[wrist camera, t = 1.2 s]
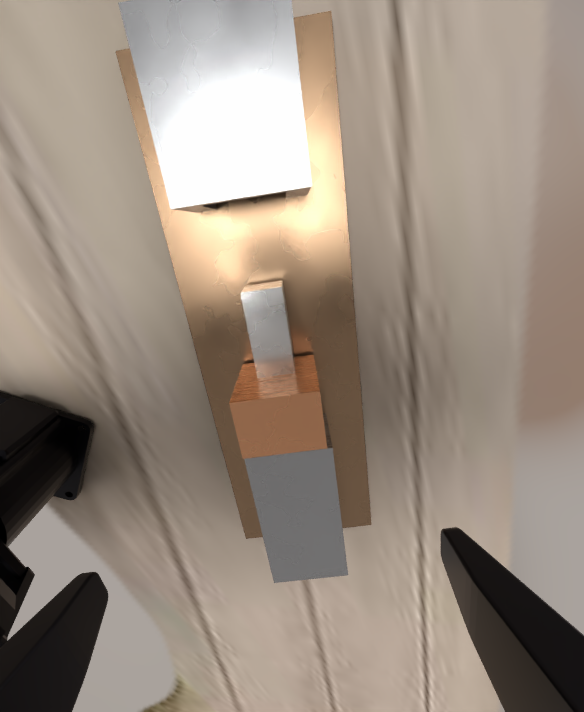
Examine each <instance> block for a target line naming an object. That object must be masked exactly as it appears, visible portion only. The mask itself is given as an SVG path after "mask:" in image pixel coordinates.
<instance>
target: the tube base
mask: <svg viewBox="0 0 584 712" xmlns="http://www.w3.org/2000/svg"><path fill="white" fill-rule="evenodd" d="M118 4H119V8H120V12H121V16H122V20H123V23H124V27H125V31H126V35H127V39H128V43H129V47H130V49H124V50H119V51H116V55H117V59H118V62H119V66H120V70H121V73H122V77H123V81H124V85H125V88H126V92H127V96H128V100H129V103H130V107H131V111H132V115H133V118H134V122H135V126H136V129H137V133H138V137H139V141H140V144H141V148H142V152H143V156H144V159H145V163H146V167H147V171H148V174H149V178H150V182H151V185H152V189H153V193H154V197H155V200H156V204H157V208H158V212H159V215H160V219H161V223H162V227H163V230H164V234H165V238H166V241H167V245H168V249H169V253H170V256H171V260H172V264H173V268H174V271H175V275H176V279H177V283H178V286H179V290H180V294H181V297H182V301H183V305H184V309H185V312H186V316H187V320H188V324H189V327H190V331H191V335H192V339H193V342H194V346H195V350H196V353H197V357H198V361H199V365H200V368H201V372H202V376H203V380H204V383H205V387H206V391H207V395H208V398H209V402H210V406H211V409H212V413H213V417H214V421H215V424H216V428H217V432H218V436H219V439H220V443H221V447H222V451H223V454H224V458H225V462H226V465H227V469H228V473H229V477H230V480H231V484H232V488H233V492H234V495H235V499H236V503H237V507H238V510H239V514H240V518H241V521H242V525H243V529H244V533H245V536H246V539H248V538H257V537H263V539H264V543H265V547H266V551H267V555H268V560H269V564H270V568H271V572H272V576H273V580H274V583H277V582H287V581H296V580H306V579H316V578H325V577H335V576H345V575H348V570H347V562H346V554H345V546H344V537H343V529H342V528H347V527H356V526H365V525H371V514H370V501H369V488H368V475H367V463H366V450H365V437H364V424H363V412H362V399H361V386H360V373H359V361H358V348H357V335H356V322H355V309H354V297H353V284H352V271H351V258H350V246H349V233H348V220H347V207H346V195H345V182H344V169H343V156H342V144H341V131H340V118H339V105H338V92H337V80H336V67H335V54H334V41H333V29H332V16H331V11H328V12H322V13H317V14H312V15H306V16H301V17H296V18H293V10H292V1H291V0H130V1H125V2H120V3H118ZM282 280H283V286H284V292H285V299H286V305H287V312H288V318H289V325H290V331H291V338H292V344H293V351H294V357H300V356H307V355H314V361H315V366H316V372H317V377H318V383H319V389H320V395H321V403H322V411H323V419H324V426H325V434H326V442H327V449H319V450H311V451H303V452H294V453H286V454H278V455H270V456H262V457H254V458H246V459H243V458H242V454H241V450H240V446H239V442H238V438H237V434H236V430H235V425H234V421H233V417H232V413H231V409H230V405H229V402H230V399H231V396H232V394H233V391H234V388H235V385H236V382H237V379H238V376H239V373H240V370H241V368H242V365H243V364H249V363H254V358H253V353H252V348H251V344H250V339H249V334H248V329H247V324H246V319H245V314H244V309H243V304H242V299H241V294H240V293H241V291H242V290H243V289H244V287H245V286H248V285H255V284H261V283H268V282H275V281H282Z"/></svg>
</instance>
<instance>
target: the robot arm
mask: <svg viewBox="0 0 584 712" xmlns="http://www.w3.org/2000/svg"><path fill="white" fill-rule="evenodd" d="M82 426H84V427H85V428H86V429H84V428H83V427H82ZM93 430H94V425H93V423H92V422H91V421H89V420H87V419H84V418H81V417H78V416H75V415H72V414H68V413H65V412H62V411H59V410H56V409H52V408H49V407H46V406H43V405H40V404H36V403H33V402H30V401H27V400H24V399H20V398H17V397H14V396H11V395H8V394H4V393H1V392H0V712H72V710H73V708H74V705H75V702H76V700H77V697H78V694H79V692H80V689H81V686H82V684H83V681H84V678H85V675H86V672H87V669H88V666H89V663H90V660H91V656H92V653H93V650H94V646H95V643H96V640H97V636H98V633H99V629H100V626H101V623H102V619H103V616H104V612H105V609H106V605H107V601H108V591H107V589H106V587H105V585H104V584H103V582H102V580H101V578H100V576H99V574H98V573H96V572H89V573H82V574H80V575H78V576H77V577H76V578H74V579H73V580H72V581H71V582H70V583H69V584H68V585H67V586H66V587H65V588H64V589H63V590H62V591H61V592H59V593H58V594H57V595H56V596H55V597H54V598H53V599H52V600H51V601H50V602H49V603H48V604H47V605H46V606H44V608H42V609H41V610H40V611H39V612H38V613H37V614H36V615H35V616H34V617H33V618H32V619H31V620H30V621H28V622H27V623H26V624H25V625H24V626H23V627H22V628H21V629H20V630H19V631H18V632H17V633H16V634H14V635H13V636H12V637H11V638H10V639H9V640H8V641H7V637H8V634H9V632H10V629H11V628H12V625H13V623H14V621H15V619H16V616H17V614H18V612H19V609H20V607H21V605H22V603H23V600H24V598H25V596H26V593H27V591H28V589H29V587H30V585H31V582H32V580H33V578H34V575H35V574H34V573H33V572H32V571H31V569H30V568H29V567H25V566H24V565H23V564H22V563H21V562H20V560H19V559H18V558H17V557H16V556H15V555H14V554H13V553H12V551H11V550H10V549H9V548H8V546H9V545H10V544H11V543H12V542H13V540H14V539H15V538H16V537H17V536H18V535H19V534H20V533H21V531H22V530H23V529H24V528H25V527H26V526H27V525H28V523H29V522H30V521H31V520H32V519H33V518H34V517H35V516H36V514H37V513H38V512H39V511H40V510H41V509H42V508H43V506H44V505H45V504H46V503H47V502H48V501H49V500H50V499H51V497H52V496H56V497H59V498H63V499H67V500H74V499H76V497H77V496H78V495H79V493H80V491H81V486H82V481H83V477H84V472H85V467H86V462H87V458H88V453H89V448H90V444H91V439H92V434H93ZM441 557H442V561H443V564H444V567H445V569H446V572H447V575H448V578H449V580H450V583H451V586H452V589H453V591H454V594H455V597H456V600H457V602H458V605H459V608H460V611H461V614H462V616H463V619H464V622H465V624H466V627H467V630H468V632H469V635H470V637H471V639H472V641H473V644H474V646H475V648H476V650H477V652H478V655H479V657H480V659H481V661H482V663H483V665H484V667H485V670H486V672H487V674H488V676H489V678H490V680H491V682H492V685H493V687H494V689H495V691H496V693H497V695H498V697H499V700H500V702H501V704H502V706H503V708H504V710H505V712H584V635H583V634H582V633H580V632H579V631H578V630H577V629H576V628H575V627H573V626H572V625H571V624H570V623H569V622H568V621H567V620H565V619H564V618H563V617H562V616H561V615H560V614H558V613H557V612H556V611H555V610H554V609H552V608H551V607H550V606H549V605H548V604H547V603H546V602H544V601H543V600H542V599H541V598H540V597H539V596H537V595H536V594H535V593H534V592H533V591H532V590H530V589H529V588H528V587H527V586H526V585H525V584H524V583H522V582H521V581H520V580H519V579H518V578H516V577H515V576H514V575H513V574H512V573H511V572H510V571H508V570H507V569H506V568H505V567H504V566H503V565H501V564H500V563H499V562H498V561H497V560H496V559H495V558H493V557H492V556H491V555H490V554H489V553H488V552H486V551H485V550H484V549H483V548H482V547H481V546H479V545H478V544H477V543H476V542H475V541H474V540H472V539H471V538H470V537H469V536H468V535H467V534H465V533H464V532H463V531H462V530H461V529H459V528H456V527H454V528H446V529H442V531H441Z"/></svg>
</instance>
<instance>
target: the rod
mask: <svg viewBox="0 0 584 712" xmlns="http://www.w3.org/2000/svg"><path fill="white" fill-rule="evenodd" d="M240 294H241V299H242V304H243V309H244V314H245V319H246V324H247V329H248V334H249V339H250V344H251V348H252V353H253V358H254V363H249V364H243V365H242V368H241V370H240V373H239V376H238V379H237V382H236V385H235V388H234V391H233V394H232V396H231V399H230V402H229V405H230V409H231V413H232V417H233V421H234V425H235V430H236V434H237V438H238V442H239V446H240V450H241V454H242V458H243V459H246V458H254V457H262V456H270V455H278V454H286V453H294V452H303V451H311V450H319V449H327V442H326V434H325V426H324V419H323V411H322V403H321V395H320V389H319V383H318V377H317V372H316V366H315V361H314V355H307V356H300V357H294V351H293V344H292V338H291V331H290V325H289V318H288V312H287V305H286V299H285V292H284V286H283V280H282V281H275V282H268V283H261V284H255V285H248V286H245V287H244V289H243V290H242V291H241V293H240Z"/></svg>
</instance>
